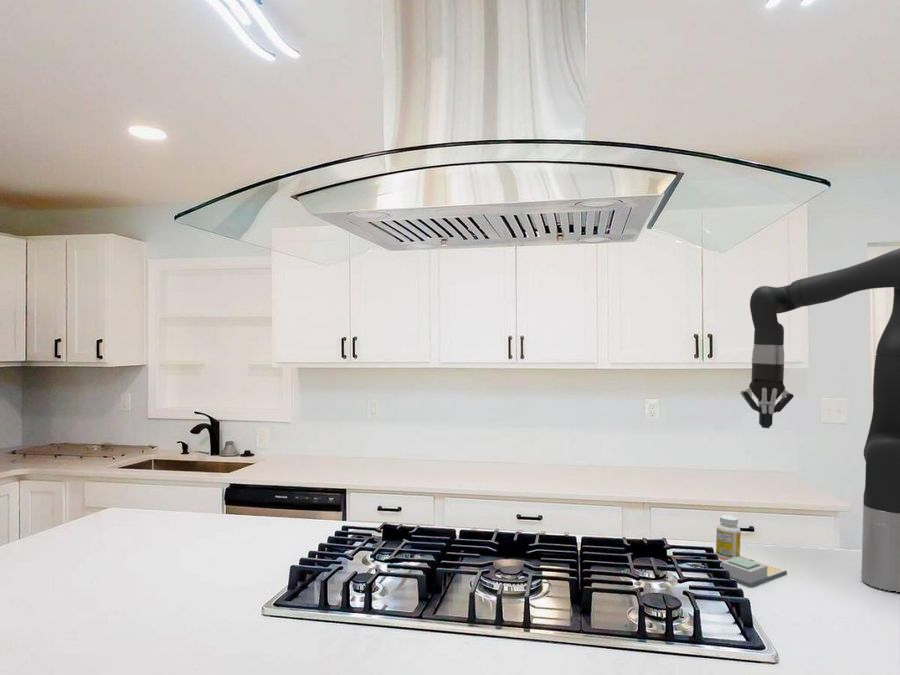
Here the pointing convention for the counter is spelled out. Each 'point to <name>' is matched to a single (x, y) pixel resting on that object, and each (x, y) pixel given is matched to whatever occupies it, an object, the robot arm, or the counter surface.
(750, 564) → the button
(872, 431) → the robot arm
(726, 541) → the supplement bottle
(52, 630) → the counter surface
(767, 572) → the grey tray
